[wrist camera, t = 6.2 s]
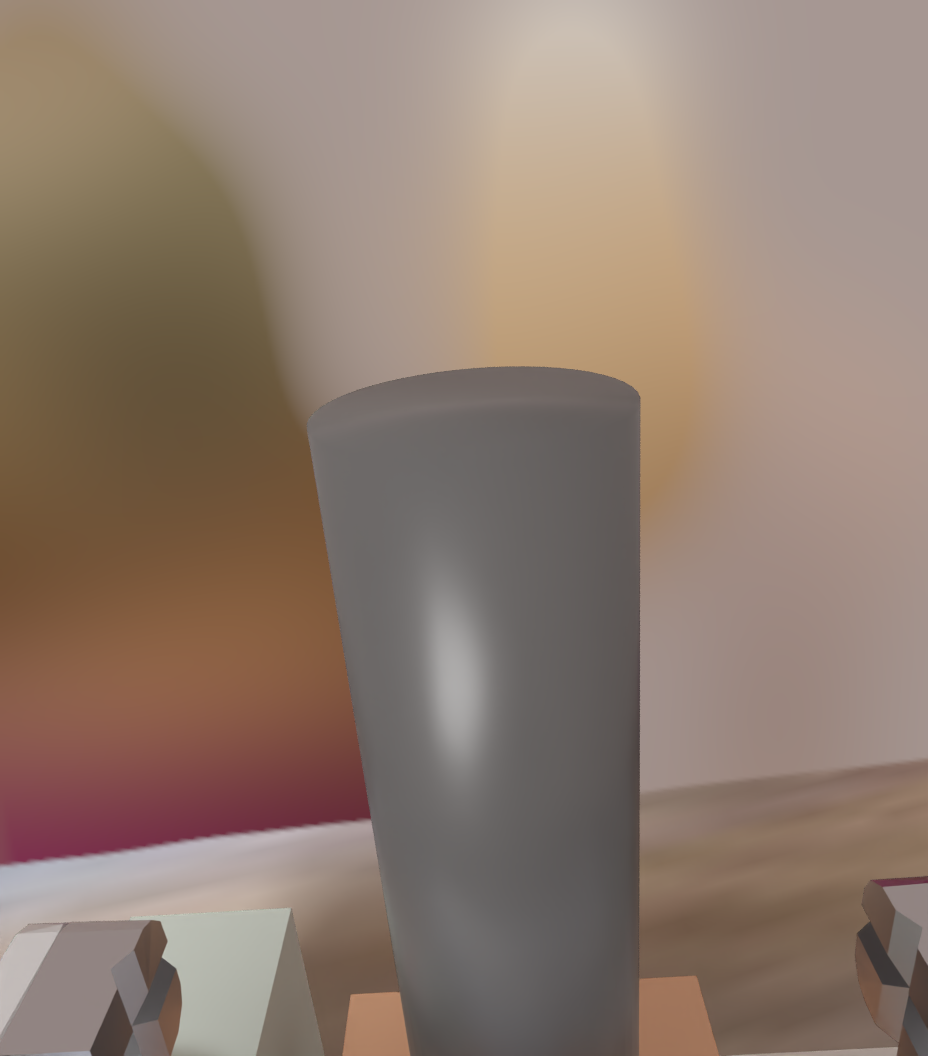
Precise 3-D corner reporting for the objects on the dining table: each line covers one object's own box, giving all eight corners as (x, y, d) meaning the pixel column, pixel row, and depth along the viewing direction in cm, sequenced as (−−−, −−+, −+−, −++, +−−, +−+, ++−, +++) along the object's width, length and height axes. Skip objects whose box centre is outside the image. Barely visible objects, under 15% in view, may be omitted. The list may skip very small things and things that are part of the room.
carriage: (288, 1668, 12) (-176, 650, 5) (362, 1051, 20) (222, 351, 13) (856, 1654, 12) (1169, 554, 5) (694, 1034, 20) (723, 309, 13)
